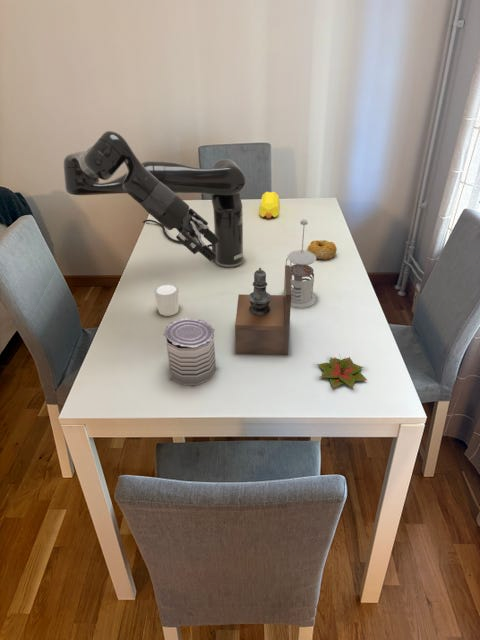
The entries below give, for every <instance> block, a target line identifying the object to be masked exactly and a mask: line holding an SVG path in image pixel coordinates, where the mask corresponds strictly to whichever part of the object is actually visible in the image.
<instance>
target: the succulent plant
mask: <svg viewBox="0 0 480 640" xmlns="http://www.w3.org/2000/svg"><path fill="white" fill-rule="evenodd" d="M338 356H339V358H337V357H336V356H334V358H333V357H330V359H329V362H322V363H317V364H316V365H317V366H318V367H319V368H320V369H321V370H322V371H323V372H322V373H321V375H320V376H319V378H329V381H330V384H331V387H332V389H334V388H336V387H339V386H342V385H343V384H346V385H348V386H350V387H351V388H352V389H354V387H355V381H357V382H359V381H368V379H367V378H366V377H365V376H364V374H362V373H361V372H360V371H361V370H362V369H364V366H361V365H358V364H356V363H354V361H353V360H352V359H351V357H350V356H349V357H344V358H341V355H340V353H339V354H338Z"/></svg>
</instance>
